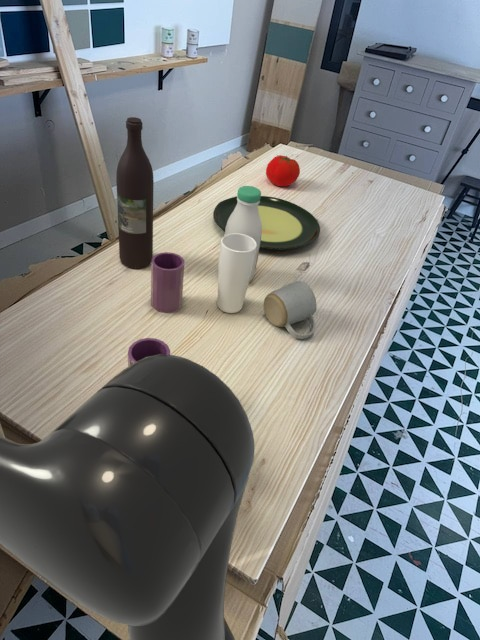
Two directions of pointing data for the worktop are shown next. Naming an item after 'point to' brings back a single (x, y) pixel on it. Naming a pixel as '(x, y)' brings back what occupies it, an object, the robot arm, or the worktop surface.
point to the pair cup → (146, 349)
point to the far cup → (167, 282)
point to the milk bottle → (247, 217)
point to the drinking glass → (234, 270)
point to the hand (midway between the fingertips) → (152, 399)
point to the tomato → (282, 171)
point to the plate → (276, 222)
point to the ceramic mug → (291, 307)
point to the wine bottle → (135, 200)
